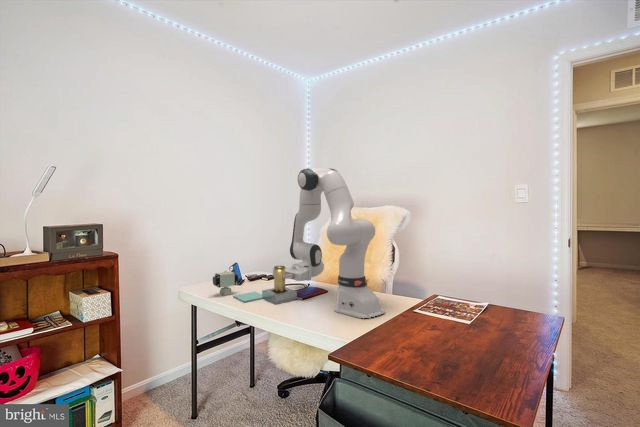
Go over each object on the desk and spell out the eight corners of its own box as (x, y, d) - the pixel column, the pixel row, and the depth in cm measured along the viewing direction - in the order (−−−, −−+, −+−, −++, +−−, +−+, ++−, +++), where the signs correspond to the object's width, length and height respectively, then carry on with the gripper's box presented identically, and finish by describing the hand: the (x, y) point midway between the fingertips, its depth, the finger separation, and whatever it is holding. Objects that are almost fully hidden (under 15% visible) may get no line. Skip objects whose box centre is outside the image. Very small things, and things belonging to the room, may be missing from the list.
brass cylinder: (287, 295, 160) (287, 266, 159) (278, 297, 156) (277, 268, 156) (281, 293, 164) (281, 265, 163) (272, 295, 160) (272, 266, 160)
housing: (296, 299, 160) (296, 291, 159) (275, 304, 152) (275, 295, 152) (283, 294, 169) (283, 286, 169) (262, 298, 161) (262, 290, 161)
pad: (266, 298, 162) (266, 296, 162) (244, 302, 154) (244, 301, 154) (255, 293, 171) (255, 291, 171) (233, 297, 164) (233, 295, 164)
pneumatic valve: (238, 293, 170) (238, 270, 170) (216, 297, 163) (215, 273, 162) (233, 291, 174) (233, 268, 174) (211, 295, 167) (211, 271, 167)
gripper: (284, 263, 176) (264, 266, 166) (313, 267, 163) (292, 272, 152) (285, 274, 176) (264, 279, 166) (313, 280, 163) (293, 286, 153)
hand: (278, 276), depth 159 cm, fingers closed on brass cylinder, 5 cm apart
